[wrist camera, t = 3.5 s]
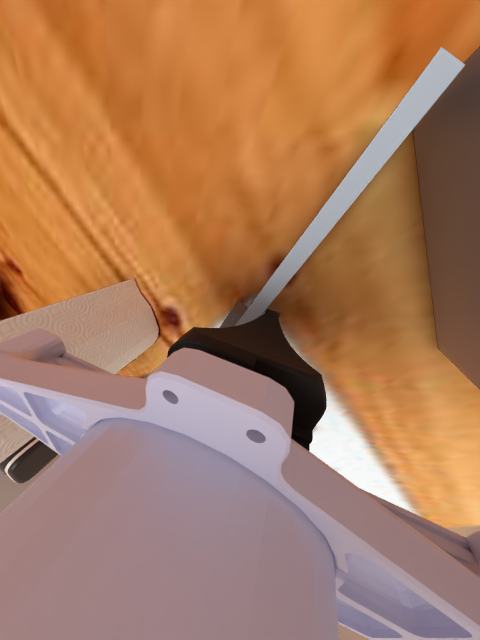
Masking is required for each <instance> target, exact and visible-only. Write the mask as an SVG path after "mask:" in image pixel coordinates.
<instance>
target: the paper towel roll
mask: <svg viewBox="0 0 480 640" xmlns="http://www.w3.org/2000/svg"><path fill="white" fill-rule="evenodd" d="M38 328H40V329H43V330H45V331H47V332H50V333H52V334H54V335H56V336H58V337H59V338H61V340H62V341H63V342H64V344H65V348H66V352H67V353H69V354H71V355H73V356H75V357H78V358H80V359H82V360H84V361H86V362H88V363H91V364H93V365H95V366H97V367H99V368H101V369H103V370H106V371H108V372H110V373H112V374H116V373H117V372H118V371H120V370H121V369H122V368H123V367H125V366H126V365H127V364H129V363H130V362H131V361H132V360H134V359H135V358H136V357H138V356H139V355H140V354H142V353H143V352H144V351H145V350H147V349H148V348H149V347H151V346H152V345H153V344H154V343H155V341H156V340H157V338H158V332H159V328H158V325H157V322H156V319H155V317H154V314H153V311H152V309H151V307H150V305H149V304H148V303H147V301H146V300H145V299H144V297H143V296H142V295H141V293H140V291H139V289H138V287H137V285H136V283H135V279H134V278H133V279H130V280H127V281H124V282H121V283H118V284H114V285H111V286H108V287H105V288H102V289H99V290H96V291H92V292H89V293H86V294H83V295H80V296H77V297H74V298H70V299H67V300H64V301H61V302H58V303H55V304H51V305H48V306H45V307H42V308H39V309H36V310H33V311H29V312H26V313H23V314H20V315H17V316H14V317H11V318H7V319H4V320H1V321H0V343H2V342H4V341H7V340H9V339H12V338H15V337H17V336H20V335H22V334H25V333H28V332H30V331H33V330H35V329H38ZM33 437H34V436H33V435H32V434H30V433H29V432H27V431H26V430H25V429H23V428H22V427H20V426H19V425H17V424H16V423H14V422H13V421H11V420H10V419H8V418H7V417H5V416H4V415H2V414H0V463H1V462H2V461H4V460H5V459H6V458H7V457H9V456H10V455H11V454H13V453H14V452H15V451H17V450H18V449H19V448H20V447H22V446H23V445H24V444H26V443H27V442H28V441H29V440H31V439H32V438H33Z"/></svg>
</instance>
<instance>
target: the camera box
mask: <svg viewBox="0 0 480 640" xmlns="http://www.w3.org/2000/svg"><path fill="white" fill-rule="evenodd" d="M463 64H465V66H464V67H463V68H462V70H461V71H460V72H459V73H458V74H457V76H456V77H455V78H454V79H453V81H452V82H451V83H450V84H449V86H448V87H447V88H446V89H445V90H444V92H443V93H442V94H441V95H440V97H439V98H438V99H437V100H436V101H435V103H434V104H433V105H432V106H431V108H430V109H429V110H428V111H427V112H426V114H425V115H424V116H423V117H422V119H421V120H420V121H419V122H418V124H417V125H416V126H415V127H414V128H413V135H414V144H415V153H416V161H417V170H418V179H419V188H420V196H421V205H422V214H423V222H424V231H425V240H426V249H427V257H428V266H429V275H430V283H431V292H432V301H433V310H434V318H435V327H436V336H437V345H438V349H439V350H440V351H441V352H442V353H443V354H444V355H445V356H446V357H447V358H448V359H449V360H450V361H451V362H452V363H453V364H454V365H455V366H456V367H457V368H458V369H459V370H460V371H461V372H462V373H463V374H464V375H465V376H466V377H467V378H468V379H469V380H470V381H471V382H472V383H473V384H474V385H476V386H477V387H478V388H479V389H480V46H479V47H478V49H477V50H476V51H475V52H474V53H473V54H472V55H471V56H470V57H469V58H468V59H467V60H466V61H465V62H464V63H463Z"/></svg>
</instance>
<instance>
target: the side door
mask: <svg viewBox="0 0 480 640" xmlns="http://www.w3.org/2000/svg"><path fill="white" fill-rule="evenodd" d="M464 66H465V64H463V63H462V62H461V61H459V60H458V59H457V58H455V57H454V56H453V55H452V54H450V53H449V52H448V51H446V50H445V49H444V48H442V47H441V48H440V50H439V51H438V52H437V54H436V55H435V56H434V58H433V59H432V61H431V62H430V63H429V65H428V66H427V67H426V69H425V70H424V71H423V73H422V74H421V75H420V77H419V78H418V79H417V81H416V82H415V83H414V85H413V86H412V87H411V89H410V90H409V91H408V93H407V94H406V95H405V97H404V98H403V99H402V101H401V102H400V103H399V105H398V106H397V107H396V109H395V110H394V111H393V113H392V114H391V115H390V117H389V118H388V119H387V121H386V122H385V124H384V125H383V126H382V128H381V129H380V130H379V132H378V133H377V134H376V136H375V137H374V138H373V140H372V141H371V142H370V144H369V145H368V146H367V148H366V149H365V151H364V152H363V153H362V155H361V156H360V157H359V159H358V160H357V161H356V163H355V164H354V165H353V167H352V168H351V169H350V171H349V172H348V174H347V175H346V176H345V178H344V179H343V180H342V182H341V183H340V184H339V186H338V187H337V188H336V190H335V191H334V192H333V194H332V195H331V197H330V198H329V199H328V201H327V202H326V203H325V205H324V206H323V207H322V209H321V210H320V211H319V213H318V214H317V215H316V217H315V218H314V219H313V221H312V222H311V224H310V225H309V226H308V228H307V229H306V230H305V232H304V233H303V234H302V236H301V237H300V238H299V240H298V241H297V242H296V244H295V245H294V247H293V248H292V249H291V251H290V252H289V253H288V255H287V256H286V257H285V259H284V260H283V261H282V263H281V264H280V265H279V267H278V268H277V270H276V271H275V272H274V274H273V275H272V276H271V278H270V279H269V280H268V282H267V283H266V284H265V286H264V287H263V288H262V290H261V291H260V292H259V294H258V295H257V297H256V298H255V299H254V301H253V302H252V303H251V305H250V306H249V307H246V306H245V305H243V304H242V303H241V302H238V303H237V305H236V306H235V307H234V308H233V309H232V310H231V312H230V313H229V314H228V316H227V317H226V319H225V320H224V322H223V323H222V325H221V326H220V328H225V327H231V326H237V325H241V324H245V323H247V322H250V321H252V320H254V319H256V318H258V317H260V316H261V315H262V314H263V312H264V311H265V310H266V309H267V307H268V306H269V305H270V304H271V303H272V301H273V300H274V299H275V298H276V296H277V295H278V294H279V293H280V292H281V290H282V289H283V288H284V287H285V285H286V284H287V283H288V282H289V281H290V279H291V278H292V277H293V276H294V274H295V273H296V272H297V271H298V269H299V268H300V267H301V266H302V265H303V263H304V262H305V261H306V260H307V258H308V257H309V256H310V255H311V254H312V252H313V251H314V250H315V249H316V247H317V246H318V245H319V244H320V242H321V241H322V240H323V239H324V238H325V236H326V235H327V234H328V233H329V231H330V230H331V229H332V228H333V227H334V225H335V224H336V223H337V222H338V220H339V219H340V218H341V217H342V216H343V214H344V213H345V212H346V211H347V209H348V208H349V207H350V206H351V204H352V203H353V202H354V201H355V200H356V198H357V197H358V196H359V195H360V193H361V192H362V191H363V190H364V189H365V187H366V186H367V185H368V184H369V182H370V181H371V180H372V179H373V177H374V176H375V175H376V174H377V173H378V171H379V170H380V169H381V168H382V166H383V165H384V164H385V163H386V162H387V160H388V159H389V158H390V157H391V155H392V154H393V153H394V152H395V151H396V149H397V148H398V147H399V146H400V144H401V143H402V142H403V141H404V139H405V138H406V137H407V136H408V135H409V133H410V132H411V131H412V130H413V128H414V127H415V126H416V125H417V124H418V122H419V121H420V120H421V119H422V117H423V116H424V115H425V114H426V112H427V111H428V110H429V109H430V108H431V106H432V105H433V104H434V103H435V101H436V100H437V99H438V98H439V97H440V95H441V94H442V93H443V92H444V90H445V89H446V88H447V87H448V86H449V84H450V83H451V82H452V81H453V79H454V78H455V77H456V76H457V74H458V73H459V72H460V71H461V70H462V68H463V67H464Z"/></svg>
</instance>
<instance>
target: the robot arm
mask: <svg viewBox="0 0 480 640" xmlns="http://www.w3.org/2000/svg"><path fill="white" fill-rule="evenodd" d="M279 315H280V313H278V312H275V311H272V310H269V309H267V310H266V312H265V314H263V315H262V316H260V317H258V318H256V319H254V320H252V321H250V322H247V323H245V324H241V325H237V326H231V327H225V328H198V327H194V328H192V329H191V330H189V331H188V332H187V333H186V334H184V335H183V336H182V337H181V338H180V339H179V340H178V341H176V342H175V343H174V344H173V345H172V346H171V348H170V349H169V351H168V356H167V359H166V360H165V361H164V362H163V363H162V364H161V365H160V366H159V367H157V368H156V369H155V370H154V371H153V372H152V373H151V374H150V375H149V376H148V379H144V378H137V377H131V376H125V375H118V374H112V373H110V372H108V371H106V370H103V369H101V368H99V367H97V366H95V365H93V364H91V363H88V362H86V361H84V360H82V359H80V358H78V357H75V356H73V355H71V354H69V353H67V352H66V348H65V344H64V342H63V341H62V340H61V338H59V337H58V336H56V335H54V334H52V333H50V332H47V331H45V330H43V329H40V328H38V329H35V330H33V331H30V332H28V333H25V334H22V335H20V336H17V337H15V338H12V339H9V340H7V341H4V342H2V343H0V414H2V415H4V416H5V417H7V418H8V419H10V420H11V421H13V422H14V423H16V424H17V425H19V426H20V427H22V428H23V429H25V430H26V431H27V432H29V433H30V434H32V435H33V436H34V437H36V438H37V439H39V440H40V441H41V442H43V443H44V444H45V445H47V446H48V447H50V448H51V449H52V450H54V451H55V452H56V453H58V454H59V455H61V457H60V458H59V459H58V460H57V461H56V462H55V463H54V464H53V465H52V466H51V467H49V469H47V470H46V471H45V472H44V473H43V474H42V475H41V476H40V477H39V478H38V479H37V480H36V481H35V482H33V484H31V485H30V486H29V487H28V488H27V489H26V490H25V491H24V492H23V493H22V494H21V495H20V496H19V497H18V498H16V499H15V500H14V501H13V502H12V503H11V504H10V505H9V506H8V507H7V508H6V509H5V510H4V511H3V512H1V513H0V640H339V629H338V624H340V625H342V626H344V627H346V628H348V629H350V630H352V631H354V632H356V633H358V634H360V635H362V636H364V637H366V638H368V639H370V640H480V531H476V532H473V533H471V534H469V535H468V536H467V537H466V538H465V537H463V536H461V535H459V534H457V533H454V532H452V531H450V530H448V529H446V528H444V527H442V526H439V525H437V524H435V523H433V522H431V521H429V520H427V519H424V518H422V517H420V516H418V515H416V514H414V513H411V512H409V511H407V510H405V509H403V508H401V507H399V506H396V505H394V504H392V503H390V502H388V501H386V500H383V499H381V498H379V497H377V496H375V495H373V494H371V493H368V492H366V491H364V490H362V489H360V488H358V487H357V486H355V485H354V484H353V483H351V482H350V481H349V480H347V479H346V478H344V477H343V476H342V475H340V474H339V473H338V472H336V471H335V470H334V469H332V468H331V467H329V466H328V465H327V464H325V463H324V462H323V461H321V460H320V459H319V458H317V457H316V456H315V455H313V454H312V453H310V452H309V443H311V442H312V430H313V429H314V427H315V426H316V424H317V423H318V422H319V420H320V419H321V417H322V416H323V414H324V412H325V410H326V392H325V387H324V383H323V379H322V375H321V374H320V373H319V372H317V371H316V370H315V369H313V368H312V367H311V366H309V365H308V364H307V363H306V362H305V361H304V360H303V359H302V358H301V357H300V356H299V355H298V354H297V353H296V352H295V351H294V350H293V348H292V347H291V346H290V344H289V343H288V341H287V340H286V338H285V336H284V334H283V332H282V329H281V326H280V323H279V319H278V318H279Z"/></svg>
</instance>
